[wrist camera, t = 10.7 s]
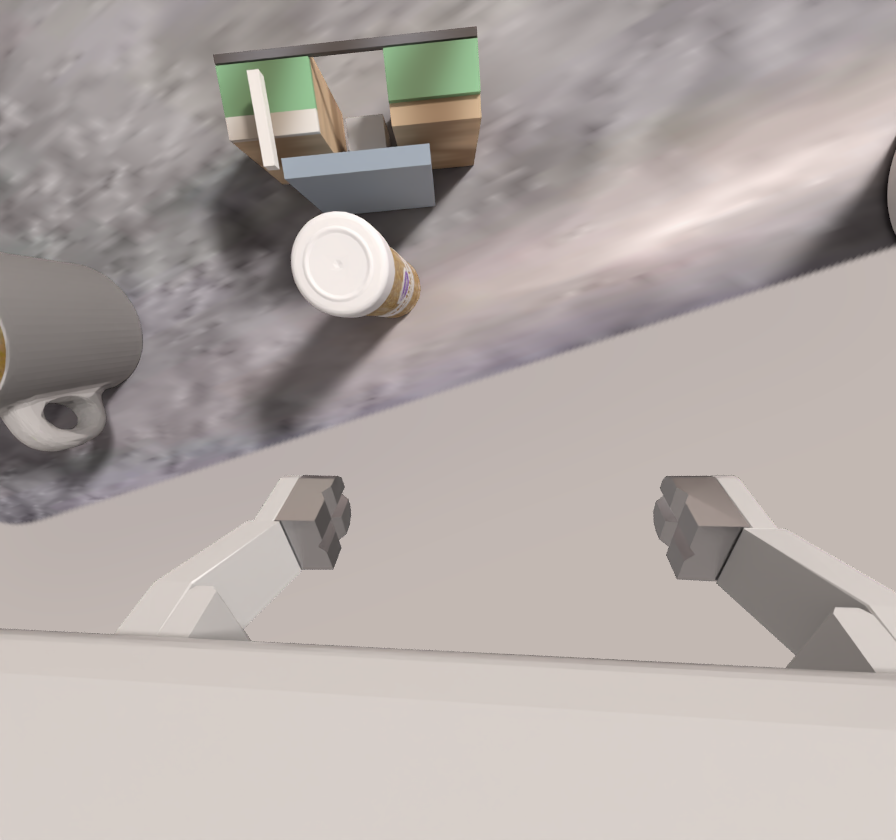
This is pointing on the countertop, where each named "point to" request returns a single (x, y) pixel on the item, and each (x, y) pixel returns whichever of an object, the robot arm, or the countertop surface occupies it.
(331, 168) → the gauge plunger
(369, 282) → the sprinkles bottle
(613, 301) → the countertop surface
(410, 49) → the tan and green block
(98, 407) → the coffee mug
